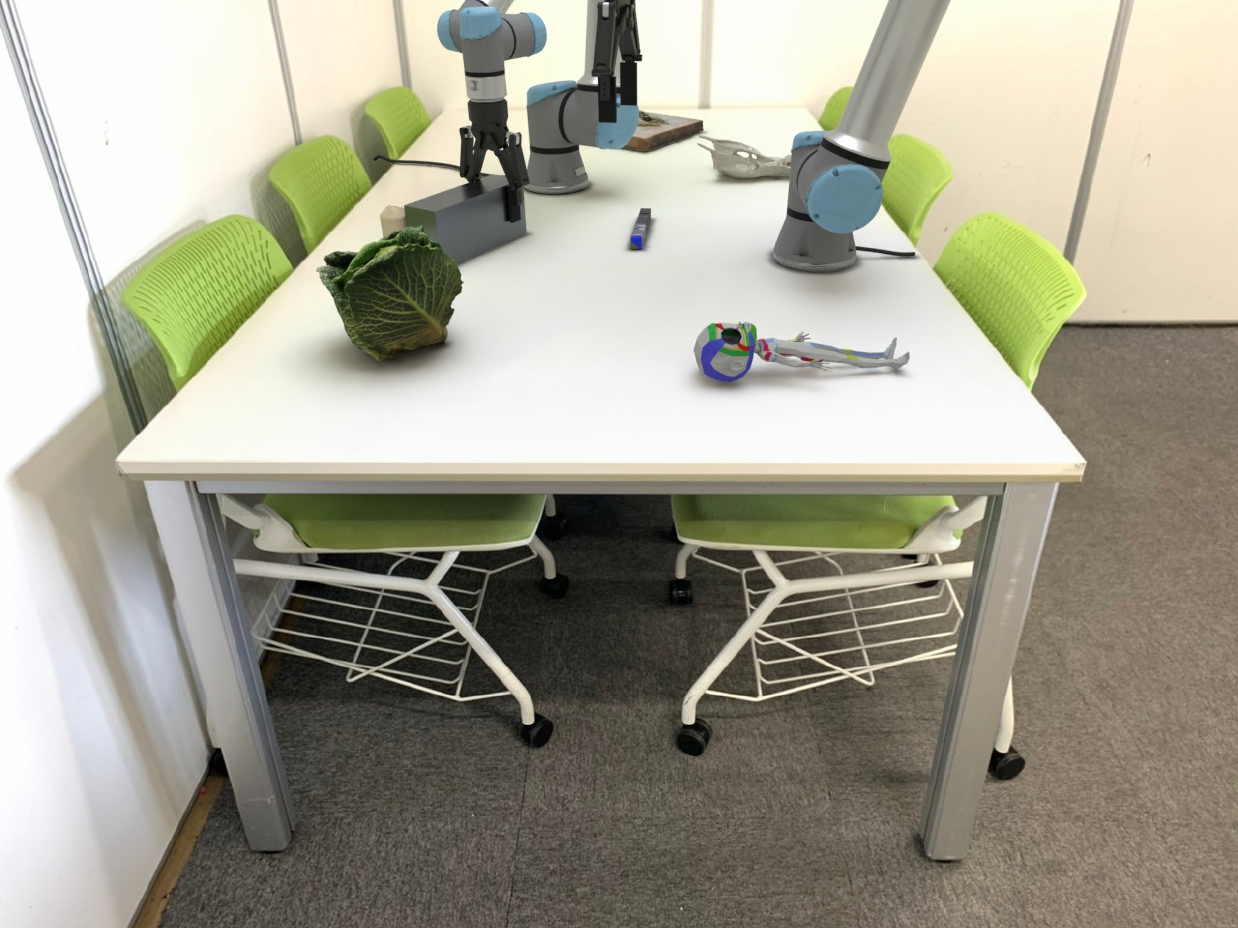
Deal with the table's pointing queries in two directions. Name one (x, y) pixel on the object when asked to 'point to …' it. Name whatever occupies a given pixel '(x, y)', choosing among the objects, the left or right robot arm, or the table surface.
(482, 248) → the box
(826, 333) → the table surface
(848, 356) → the toy
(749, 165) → the anatomical model
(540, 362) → the table surface
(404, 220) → the candle
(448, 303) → the vegetable
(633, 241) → the pillar
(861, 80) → the right robot arm
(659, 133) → the plaque
